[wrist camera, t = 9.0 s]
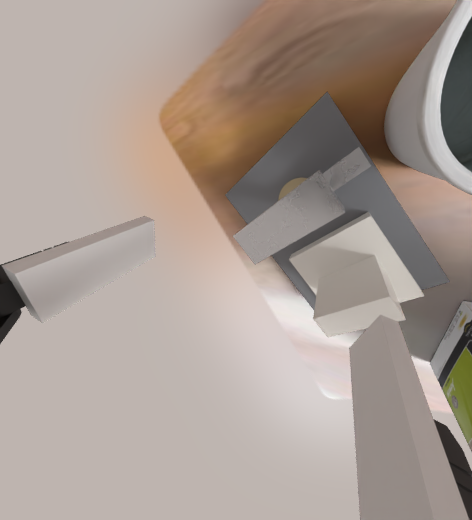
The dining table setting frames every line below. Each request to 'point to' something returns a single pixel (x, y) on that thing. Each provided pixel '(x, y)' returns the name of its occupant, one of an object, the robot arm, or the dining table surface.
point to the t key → (300, 209)
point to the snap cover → (355, 277)
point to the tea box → (457, 368)
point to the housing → (350, 194)
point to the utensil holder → (437, 104)
